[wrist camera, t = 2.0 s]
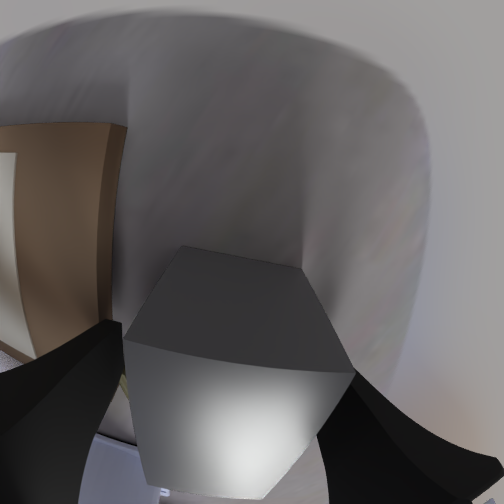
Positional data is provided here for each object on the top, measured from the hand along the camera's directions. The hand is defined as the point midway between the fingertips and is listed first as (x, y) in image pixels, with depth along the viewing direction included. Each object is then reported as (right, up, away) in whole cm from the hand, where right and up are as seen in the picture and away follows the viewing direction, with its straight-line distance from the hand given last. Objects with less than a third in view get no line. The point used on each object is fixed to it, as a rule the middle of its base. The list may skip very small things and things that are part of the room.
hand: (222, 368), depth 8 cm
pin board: (-10, +4, 0) cm, 11 cm away
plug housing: (0, 0, +2) cm, 2 cm away
